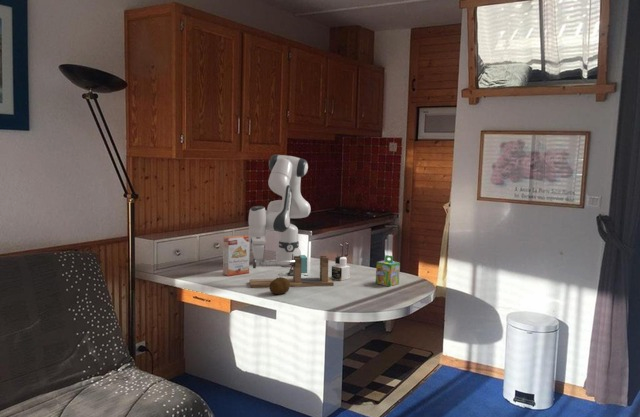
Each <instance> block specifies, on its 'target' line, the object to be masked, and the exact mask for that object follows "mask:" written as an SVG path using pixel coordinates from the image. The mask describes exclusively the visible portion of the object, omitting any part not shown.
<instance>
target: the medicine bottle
mask: <svg viewBox="0 0 640 417" xmlns="http://www.w3.org/2000/svg"><path fill="white" fill-rule="evenodd" d="M347 260H348V259H347V257H346V256H342V255H341V256H336V257H335V264H333V265H331V280H336V281H341V282H342V281H347V280H350V278H351V275H350V274H351V266H350V265H347Z"/></svg>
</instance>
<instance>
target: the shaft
mask: <svg viewBox="0 0 640 417" xmlns="http://www.w3.org/2000/svg"><path fill="white" fill-rule="evenodd" d="M291 266H295V260H275V259H274V260H273V259H272V260H271V259H270V260H269V259H268V260H260V263H259V266H258V267H262V268H263V267H291ZM256 268H257V266H256V260H255V258H253V259H252V269H256Z"/></svg>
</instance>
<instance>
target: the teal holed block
mask: <svg viewBox="0 0 640 417" xmlns="http://www.w3.org/2000/svg"><path fill="white" fill-rule="evenodd" d="M299 256H300V258H301V274H308V257H307V256H306V254H301V255H299Z"/></svg>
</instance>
